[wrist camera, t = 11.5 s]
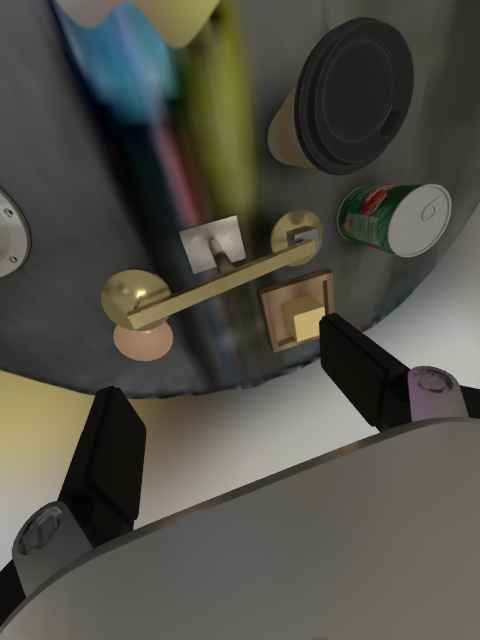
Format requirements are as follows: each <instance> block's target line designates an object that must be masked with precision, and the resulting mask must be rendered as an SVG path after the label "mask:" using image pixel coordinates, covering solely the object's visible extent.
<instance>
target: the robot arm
mask: <svg viewBox="0 0 480 640" xmlns="http://www.w3.org/2000/svg"><path fill="white" fill-rule="evenodd" d="M11 211H12V212H13V214H12V213H11ZM30 243H31V238H30V233H29V228H28V226H27V223H26V221H25V218H24V216H23V215H22V213H21V211H20V210H19V208H18V207H17V205H16V204H15V203H14V202H13V201H12V199H11V198H10V197H9V196H8V195H7V194H6V193H5V192H4V191H3V190H2V189H1V188H0V277H3V276H5V275H7V274H10V273H12V272H13V271H15V270H17V269H18V268H19V267H20V266H21V265H23V263H24V262H25V260H26V259H27V257H28V254H29V251H30ZM16 258H17V259H16ZM319 337H320V358H321V366H322V368H323V370H324V371H325V372H326V373H327V375H328V376H329V377H330V378H331V379H332V381H333V382H334V383H335V384H336V385H337V386H338V388H339V389H340V390H341V391H342V392H343V394H344V395H345V396H346V397H347V398H348V400H349V401H350V402H351V403H352V404H353V406H354V407H355V408H356V409H357V410H358V411H359V413H360V414H361V415H362V416H363V418H365V420H366V421H367V422H368V424H370V425H371V426H372V427H374V426H375V427H376V428H377V429H378V430H379V432H380V433H378V434H376V435H373V436H370V437H367V438H364V439H362V440H359V441H356V442H354V443H351V444H349V445H346V446H344V447H341V448H338V449H336V450H333V451H331V452H328V453H326V454H323V455H320V456H318V457H315V458H313V459H310V460H308V461H305V462H303V463H300V464H297V465H295V466H292V467H290V468H287V469H285V470H282V471H280V472H277V473H275V474H272V475H270V476H267V477H265V478H262V479H260V480H257V481H255V482H252V483H249V484H247V485H244V486H242V487H239V488H237V489H234V490H232V491H230V492H227V493H224V494H222V495H220V496H217V497H215V498H212V499H209V500H207V501H204V502H202V503H199V504H197V505H194V506H192V507H189V508H187V509H184V510H182V511H179V512H177V513H174V514H172V515H170V516H167V517H164V518H162V519H160V520H157V521H155V522H152V523H150V524H148V525H145V526H143V527H141V528H138V529H136V530H133V525H134V520H136V519H137V518H138V514H139V504H140V494H141V484H142V474H143V463H144V453H145V443H146V427H145V425H144V423H143V422H142V420H141V419H140V417H139V416H138V415H137V413H136V411H135V410H134V408H133V407H132V406H131V404H130V402H129V401H128V399H127V398H126V396H125V395H124V393H123V392H122V391H121V389H120V388H119V387H117V388H115V387H114V386H109V387H106V388H103V389H100V390H98V391H97V393H96V396H95V398H94V401H93V404H92V407H91V410H90V413H89V415H88V418H87V421H86V424H85V426H84V429H83V431H82V433H81V436H80V439H79V441H78V444H77V447H76V450H75V453H74V455H73V458H72V461H71V464H70V467H69V469H68V472H67V475H66V478H65V480H64V483H63V486H62V489H61V492H60V494H59V497H58V500H57V501H54V502H51V503H48V504H46V505H45V506H43V507H42V508H40V509H39V510H38V511H36V512H35V513H34V514H33V515H32V516H31V517H30V518H29V519H28V520H27V521H26V522H25V524H24V525H23V527H22V528H21V530H20V531H19V533H18V535H17V537H16V539H15V541H14V544H13V548H12V558H13V559H12V560H11V561H10V562H9V563H8V564H7V565H6V566H5V567H4V568H3V569H2V570H1V572H0V640H480V389H475V388H471V387H466V386H461V385H459V384H458V382H457V380H456V379H455V378H454V377H453V376H452V375H451V374H449V373H447V372H446V371H444V370H441V369H439V368H435V367H431V366H420V367H415V368H413V369H409V368H408V367H407V366H405V365H404V364H403V363H401V362H400V361H399V360H397V359H396V358H395V357H393V356H392V355H391V354H389V353H388V352H387V351H385V350H384V349H383V348H382V347H380V346H379V345H378V344H376V343H375V342H374V341H372V340H371V339H370V338H369V337H367V336H366V335H364V334H363V333H361V332H360V331H359V330H357V329H356V328H355V327H354V326H352V325H351V324H350V323H348V322H347V321H346V320H344V319H343V318H342V317H340V316H339V315H338V314H336V313H331V314H328V315H325V316H323V317H322V319H321V320H320V321H319Z"/></svg>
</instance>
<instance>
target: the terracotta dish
mask: <svg viewBox="0 0 480 640" xmlns="http://www.w3.org/2000/svg"><path fill="white" fill-rule="evenodd" d="M114 342H115V345H116V347H117V348H118V350H119V351H120V352H121V353H123V354H124V355H125V356H127V357H129V358H131V359H134V360H138V361H151V360H155V359H158V358H160V357H162V356H164V355H165V354H166V353H167V352H168V351H169V350H170V348H171V346H172V343H173V332H172V329H171V327H170V325H169V324H168V322H167V321H165V322H164V323H163V324H162V325H160V326H159V327H157V328H155V329H152V330H148V331H133V330H128V329H125V328H123V327H121V326H119V325H117V326H116V328H115V330H114Z"/></svg>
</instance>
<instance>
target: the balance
mask: <svg viewBox="0 0 480 640" xmlns="http://www.w3.org/2000/svg"><path fill="white" fill-rule="evenodd" d="M179 234H180V237H181V240H182V243H183V245H184V248H185V251H186V254H187V257H188V259H189V262H190V265H191V268H192V271H193V274H195V273H198V272H202V271H205V270H208V269H212V268H215V267H217V268H218V271H219V273H220V275H218V276H215V277H213V278H210V279H208V280H205V281H203V282H200V283H198V284H195V285H193V286H191V287H188V288H186V289H183V290H181V291H178V292H176V293H173V294H171V291H170V289H169V287H168V285H167V284H166V283H165V282H164V280H163V279H161V278H160V277H159V276H158V275H156V274H154V273H152V272H150V271H148V270H144V269H138V268H131V269H125V270H122V271H119V272H117V273H115V274H114V275H113V276H112V277H111V278H110V279H109V280H108V281H107V282H106V284H105V285H104V287H103V290H102V294H101V302H102V306H103V309H104V311H105V313H106V314H107V316H108V317H109V318H110V319H111V320H112V321H113V322H114V323H116V324H117V325H119V326H121V327H123V328H125V329H128V330H133V331H148V330H152V329H155V328H157V327H159V326H160V325H162V324H163V323H164V322H165V321H166V320H167V319H168V317H169V315H170V314H173V313H175V312H177V311H180V310H182V309H185V308H187V307H189V306H192V305H194V304H196V303H199V302H201V301H203V300H206V299H208V298H210V297H213V296H215V295H217V294H220V293H222V292H224V291H227V290H229V289H231V288H234V287H236V286H238V285H241V284H243V283H245V282H248V281H250V280H252V279H255V278H257V277H259V276H262V275H264V274H266V273H269V272H271V271H273V270H276V269H278V268H280V267H283V266H285V265H289V266H298V265H302V264H304V263H306V262H308V261H309V260H310V259H312V258H313V257H314V256H315V254H316V253H317V252H319V248H320V245H321V243H322V238H323V230H322V225H321V223H320V221H319V219H318V218H317V216H316V215H314V214H313V213H312V212H309V211H306V210H300V209H297V210H292V211H289V212H287V213H285V214H284V215H282V216H281V217H280V218H279V219H278V220H277V222H276V223H275V225H274V227H273V229H272V232H271V236H270V246H271V250H272V254H270V255H267V256H265V257H262V258H260V259H257V260H255V261H252V262H250V263H248V264H245V265H243V266H240V267H238V268H235V266H234V265H233V263H232V262H235V261H238V260H241V259H245V258H246V256H245V252H244V247H243V243H242V238H241V234H240V230H239V225H238V221H237V217H236V215H231V216H228V217H224V218H221V219H217V220H214V221H210V222H207V223H203V224H200V225H197V226H193V227H190V228H186V229H183V230H179Z"/></svg>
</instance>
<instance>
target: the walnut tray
mask: <svg viewBox="0 0 480 640" xmlns="http://www.w3.org/2000/svg"><path fill="white" fill-rule="evenodd" d="M258 291H259V296H260V300H261V305H262V309H263V314H264V319H265V323H266V328H267V332H268V337H269V342H270V346H271V348H272V350H273V352H274V353H275V352H278V351H281V350H284V349H287V348H290V347H293V346H296V345H299V344H302V343H305V342H308V341H311V340H314V339H317V338H320V337H319V335H318V336H314V337H311V338H308V339H305V340H302V341H299V342H297V341H296V339H295V338H294V337H293V335H292V334H291V333H290V331H289V330H288V329H287V327H286V322H285V316H284V310H283V304H282V303H284V302H287V301H290V300H293V299H297V298H300V297H303V296H306V295H309V294H310V295H311V296H312V297H314V298H315V299H316V300H317V301H318V302H320V303H321V304H322V305H323V306H324V309H325V315H328V314H331V313H334V291H333V272H332V271H330V270H328V269H323V270H320V271H317V272H314V273H310V274H307V275H304V276H301V277H298V278H294V279H291V280H288V281H285V282H281V283H278V284H275V285H272V286H269V287H265V288H262V289H259V290H258Z"/></svg>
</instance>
